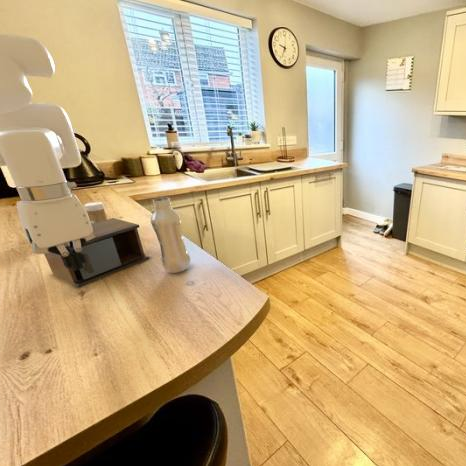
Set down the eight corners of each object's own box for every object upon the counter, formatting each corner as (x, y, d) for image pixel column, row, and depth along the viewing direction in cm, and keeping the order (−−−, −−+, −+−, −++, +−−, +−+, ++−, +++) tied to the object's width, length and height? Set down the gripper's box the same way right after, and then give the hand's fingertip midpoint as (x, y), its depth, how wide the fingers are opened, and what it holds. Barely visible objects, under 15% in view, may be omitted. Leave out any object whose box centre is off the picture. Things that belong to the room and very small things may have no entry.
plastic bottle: (197, 266, 81) (182, 197, 73) (177, 277, 75) (158, 204, 67) (180, 262, 83) (163, 194, 75) (158, 273, 77) (138, 201, 69)
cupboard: (53, 274, 75) (36, 237, 71) (123, 249, 90) (113, 217, 86) (78, 287, 70) (62, 247, 66) (149, 258, 85) (139, 224, 80)
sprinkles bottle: (114, 243, 94) (101, 204, 88) (96, 247, 91) (82, 206, 86) (115, 239, 97) (103, 200, 92) (98, 241, 95) (84, 202, 90)
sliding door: (83, 279, 72) (71, 248, 69) (119, 264, 79) (110, 236, 76) (90, 282, 70) (78, 251, 67) (127, 267, 78) (118, 239, 74)
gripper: (79, 183, 68) (103, 252, 75) (-15, 198, 56) (25, 279, 63) (96, 186, 65) (120, 258, 72) (1, 203, 53) (41, 288, 60)
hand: (76, 268), depth 68 cm, fingers closed
